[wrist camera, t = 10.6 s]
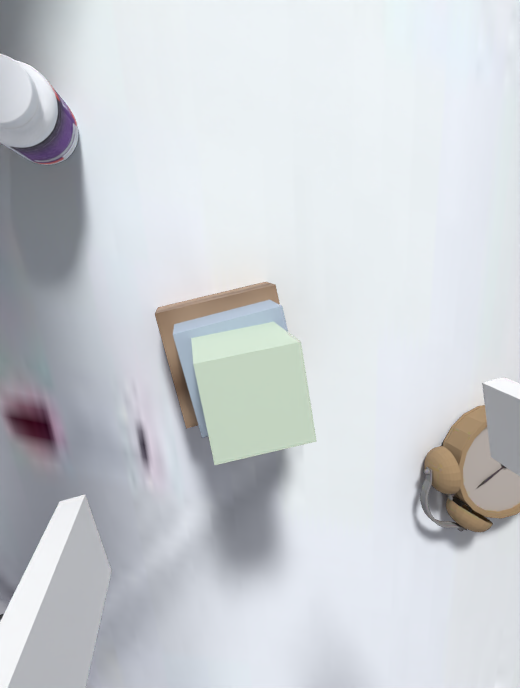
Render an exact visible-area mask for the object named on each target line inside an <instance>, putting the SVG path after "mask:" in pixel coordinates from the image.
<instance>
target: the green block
mask: <svg viewBox="0 0 520 688" xmlns="http://www.w3.org/2000/svg"><path fill="white" fill-rule="evenodd" d="M191 342H192V355H193V365H194V370H195V375H196V379H197V384H198V389H199V394H200V398H201V403H202V408H203V413H204V417H205V422H206V427H207V431H208V436H209V441H210V446H211V450H212V455H213V460H214V465H218V464H223V463H227V462H231V461H235V460H240V459H244V458H248V457H252V456H257V455H261V454H265V453H269V452H274V451H278V450H282V449H287V448H291V447H295V446H299V445H304V444H308V443H312V442H316V435H315V429H314V422H313V416H312V410H311V403H310V397H309V391H308V384H307V378H306V372H305V365H304V359H303V353H302V346H301V342H300V341H299V340H298V339H296V338H295V337H294V336H292V335H291V334H290V333H288V332H287V331H286V330H284V329H283V328H282V327H280V326H279V325H278V324H276V323H275V322H269V323H264V324H259V325H254V326H249V327H244V328H239V329H234V330H229V331H224V332H219V333H214V334H209V335H204V336H199V337H194V338H191Z"/></svg>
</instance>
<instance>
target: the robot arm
mask: <svg viewBox="0 0 520 688" xmlns="http://www.w3.org/2000/svg"><path fill="white" fill-rule="evenodd" d="M482 385H483V393H484V402H485V411H486V419H487V428H488V437H489V445H490V454H491V458H493V459H494V460H496V461H497V462H499V463H500V464H502V465H503V466H505V467H506V468H508V469H509V470H511V471H512V472H514V473H515V474H517V475H518V476H520V383H517V382H515V381H512V380H509V379H507V378H504V377H501V378H498V379H494V380H491V381H487V382H484V383H482ZM111 572H112V570H111V567H110V565H109V562H108V559H107V556H106V553H105V550H104V547H103V544H102V541H101V538H100V535H99V533H98V530H97V527H96V524H95V521H94V518H93V515H92V512H91V509H90V506H89V503H88V501H87V498H86V495H85V494H84V495H81V496H77V497H74V498H70V499H67V500H63V501H60V502H59V504H58V506H57V508H56V510H55V512H54V514H53V516H52V518H51V520H50V522H49V524H48V526H47V528H46V530H45V532H44V534H43V536H42V538H41V540H40V542H39V544H38V546H37V548H36V550H35V552H34V554H33V556H32V558H31V560H30V562H29V564H28V566H27V568H26V570H25V572H24V575H23V577H22V579H21V581H20V583H19V585H18V587H17V589H16V591H15V593H14V595H13V597H12V599H11V601H10V603H9V605H8V607H7V609H6V611H5V613H4V614H2V615H0V688H86V685H87V680H88V676H89V671H90V667H91V662H92V658H93V653H94V649H95V644H96V640H97V635H98V631H99V626H100V622H101V617H102V613H103V608H104V604H105V599H106V595H107V590H108V586H109V581H110V577H111Z"/></svg>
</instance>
